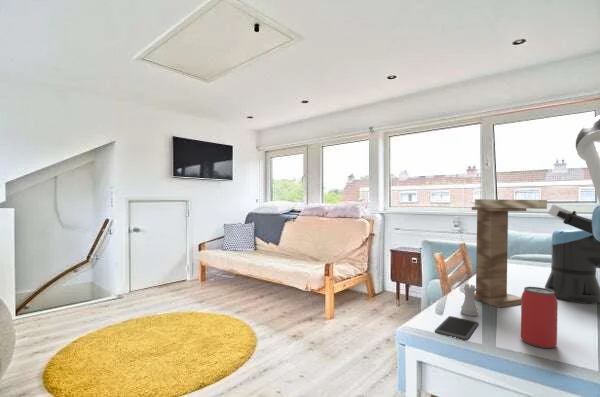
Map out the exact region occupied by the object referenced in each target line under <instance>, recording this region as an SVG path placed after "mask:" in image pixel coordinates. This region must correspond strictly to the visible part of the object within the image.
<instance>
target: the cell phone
mask: <svg viewBox="0 0 600 397" xmlns="http://www.w3.org/2000/svg"><path fill="white" fill-rule="evenodd" d="M479 323H480V322H478V321H474V320H471V319H465V318H461V317H458V316H450V315H449V316H448V317H447V318H445V320H443V321H442V323H441V324H440V325H438V326H437V327H436V328H435V329H434V333H436V334H438V335H441V334H442V335H441V336H445V335H446V337H449V336H452V337H451V338H453V337H456V338H455V339H457V338H459V339H458V340H460V339H462V340H461V341H465V340H467V341H468V340H470V338H471V337H472V335H473V334H474V333H475V331H476V330H477V328H478V327H479V325H480V324H479Z"/></svg>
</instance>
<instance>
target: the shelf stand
mask: <svg viewBox="0 0 600 397" xmlns="http://www.w3.org/2000/svg"><path fill="white" fill-rule="evenodd" d="M471 211H476V257H475V258H476V260H475V264H476V266H475V268H476V269H475V271H476V272H475V275H476V276H475V288H476V291H475V292H474V294H475V296H474V299H475V301H477V302H481V303H484V304H488V305H490V306H494V307H497V308H499V309H500V308H505V306H506V307H512V306H517V305H521V297H522V296H518V295H513V294H510V293H507V292H508V288H507V287H508V247H509V246H508V243H509V242H508V241H509V240H508V238H509V237H508V236H509V235H508V234H509V233H508V232H509V212H527V208H499V207H475V206H471ZM516 304H517V305H516ZM511 305H512V306H511Z"/></svg>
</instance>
